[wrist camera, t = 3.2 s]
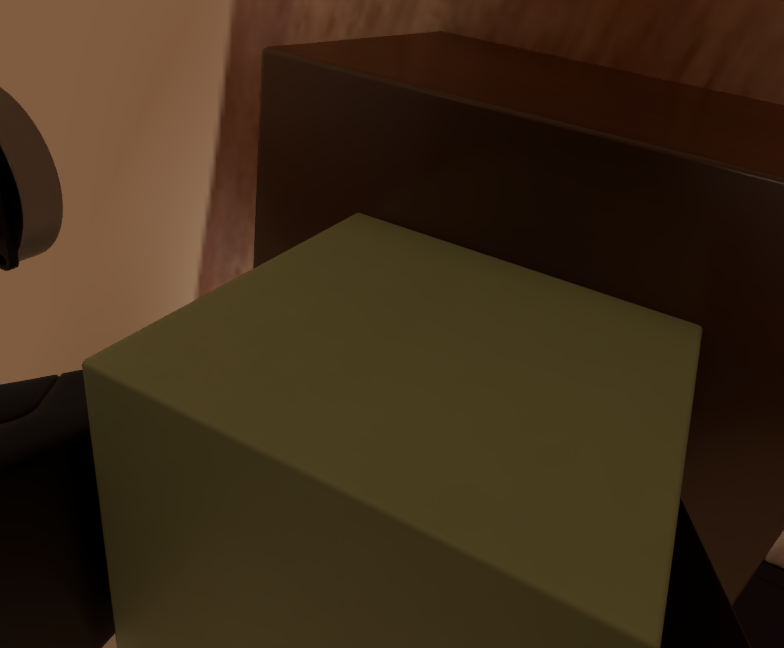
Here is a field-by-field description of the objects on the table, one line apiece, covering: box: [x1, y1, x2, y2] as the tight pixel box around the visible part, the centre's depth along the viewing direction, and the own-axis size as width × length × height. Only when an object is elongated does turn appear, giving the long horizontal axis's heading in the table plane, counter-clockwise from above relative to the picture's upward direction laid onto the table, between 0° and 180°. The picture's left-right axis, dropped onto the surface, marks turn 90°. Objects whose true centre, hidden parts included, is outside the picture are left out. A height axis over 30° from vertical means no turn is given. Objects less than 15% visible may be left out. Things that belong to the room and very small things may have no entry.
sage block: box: [82, 213, 702, 648], centre depth 7 cm, size 4×4×4 cm
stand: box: [253, 31, 784, 606], centre depth 11 cm, size 8×8×6 cm
